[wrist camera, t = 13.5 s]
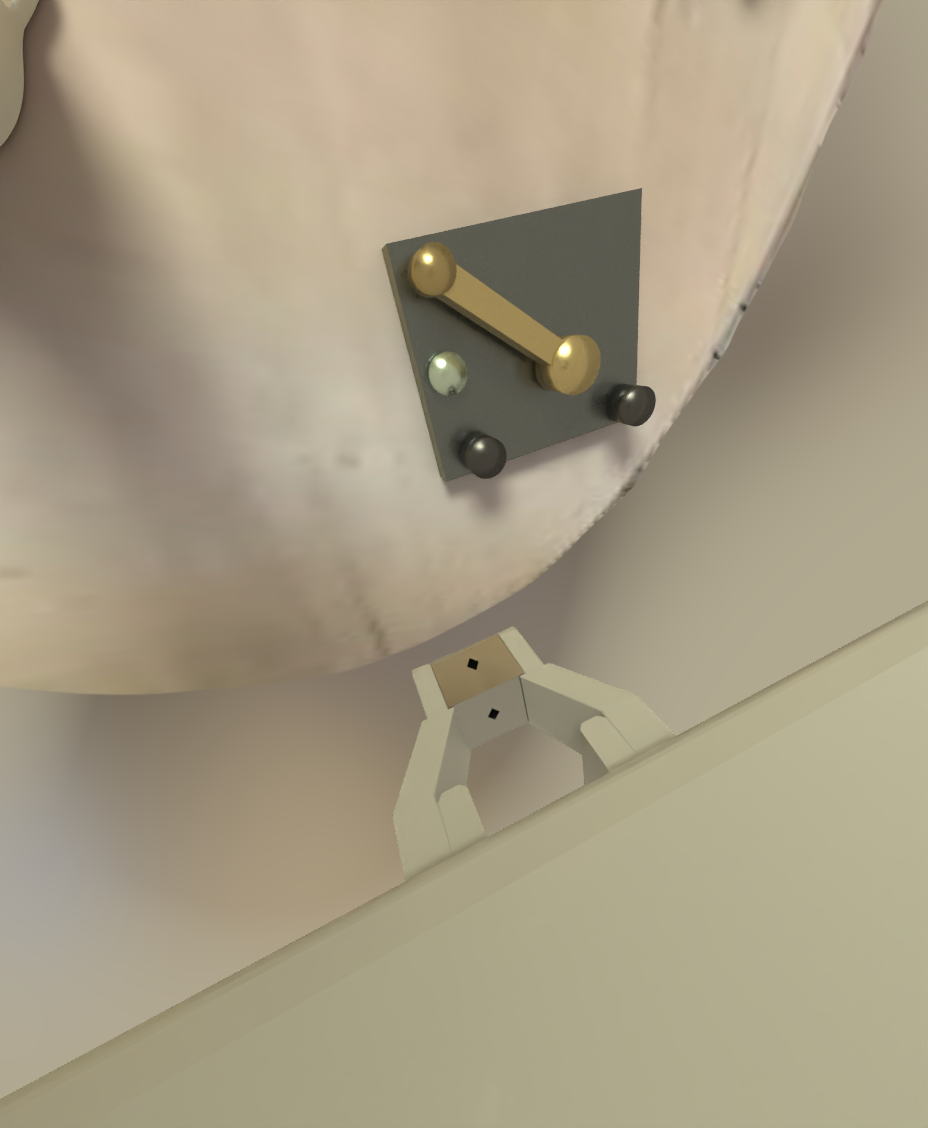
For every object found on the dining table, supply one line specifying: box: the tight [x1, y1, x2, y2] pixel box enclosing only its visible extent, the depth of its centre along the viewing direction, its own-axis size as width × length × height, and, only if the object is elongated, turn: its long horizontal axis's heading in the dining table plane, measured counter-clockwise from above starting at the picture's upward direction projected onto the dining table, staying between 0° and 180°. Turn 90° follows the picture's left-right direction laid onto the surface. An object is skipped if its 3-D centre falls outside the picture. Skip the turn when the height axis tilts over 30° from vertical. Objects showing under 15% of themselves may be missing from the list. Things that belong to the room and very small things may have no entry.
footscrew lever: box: [407, 242, 601, 395], centre depth 35 cm, size 19×5×4 cm, turn 64°
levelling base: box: [382, 188, 656, 482], centre depth 38 cm, size 20×24×5 cm
